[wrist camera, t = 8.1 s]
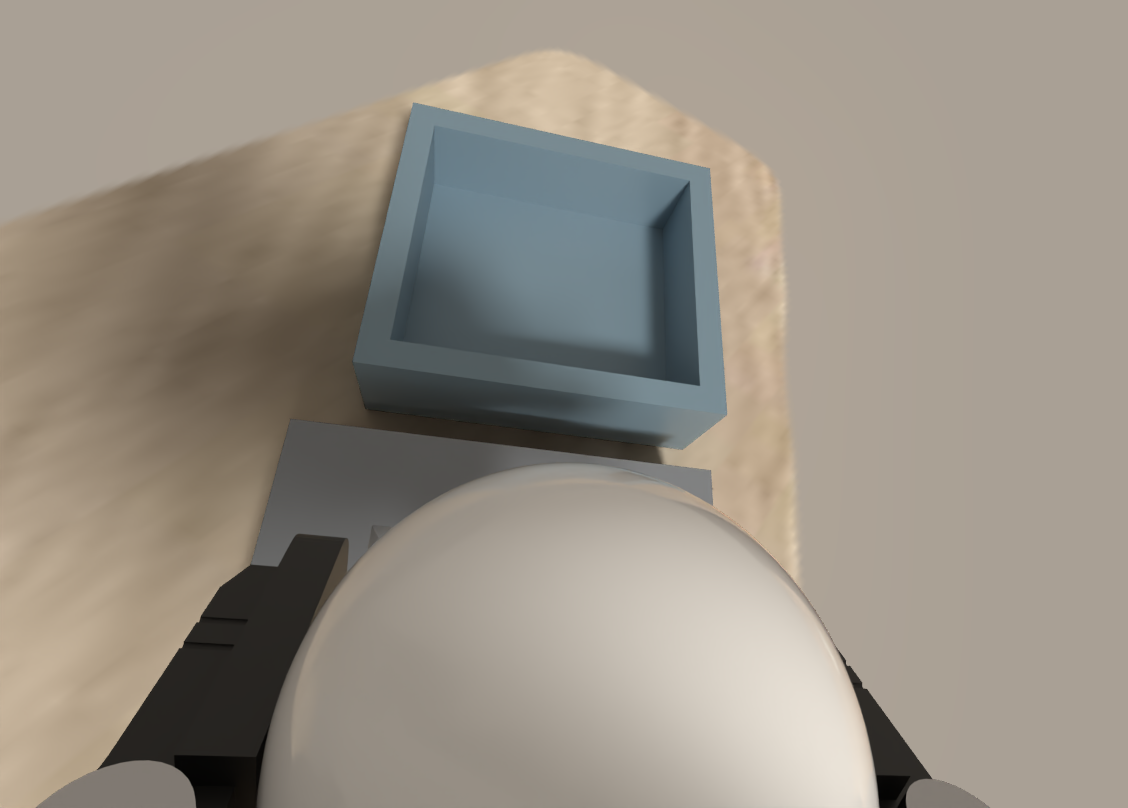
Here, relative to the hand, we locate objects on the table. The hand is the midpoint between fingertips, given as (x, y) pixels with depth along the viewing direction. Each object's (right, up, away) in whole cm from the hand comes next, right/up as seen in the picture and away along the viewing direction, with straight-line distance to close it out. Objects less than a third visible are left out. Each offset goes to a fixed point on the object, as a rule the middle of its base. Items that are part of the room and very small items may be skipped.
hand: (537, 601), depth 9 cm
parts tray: (-1, +8, +16) cm, 18 cm away
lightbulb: (-1, -4, +4) cm, 6 cm away
